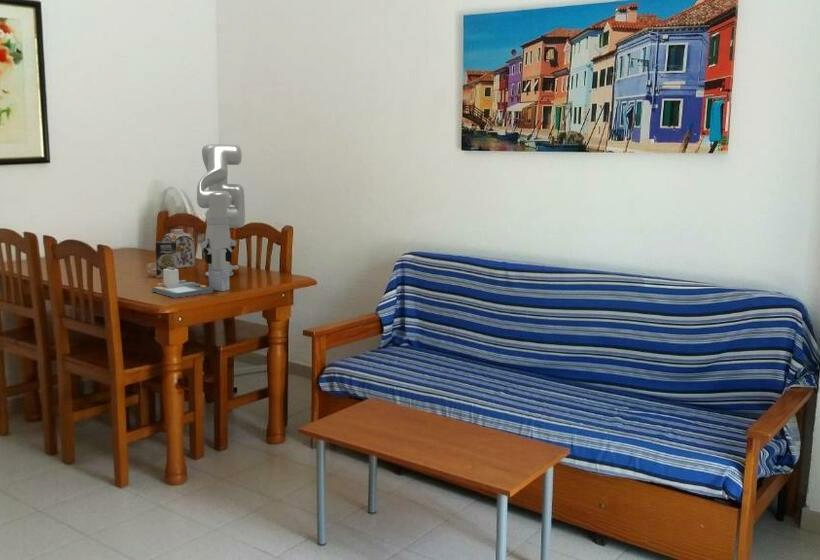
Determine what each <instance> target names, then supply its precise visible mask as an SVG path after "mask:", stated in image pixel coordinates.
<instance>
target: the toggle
mask: <svg viewBox="0 0 820 560" xmlns="http://www.w3.org/2000/svg"><path fill="white" fill-rule="evenodd" d="M179 275H180V274H179V268H177V269H175V268H173V267H167V269H163V276H164V278H163V283H164V286H171V285H178V284H179V281H180V278H179Z"/></svg>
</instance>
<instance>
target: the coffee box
mask: <svg viewBox="0 0 820 560" xmlns="http://www.w3.org/2000/svg"><path fill="white" fill-rule="evenodd" d="M167 267H173V268H175V269H178V268H177V247H176V241H162V240H156V241H155V269H156V271H155V277H156V279H162V278H163V279H164V276H163V269H167Z"/></svg>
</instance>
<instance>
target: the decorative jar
mask: <svg viewBox="0 0 820 560" xmlns="http://www.w3.org/2000/svg"><path fill="white" fill-rule="evenodd" d="M161 241H176V247H177V269H185V267H186V268H194V266H195V267H196V249H195V248H196V247H195V246H196V245H195V242H196V241H195V239H194V237H193V235H192V234H191V233H188V232H184V229H182V228H181V229H179V228H177V229H176V228H175V229H173V232H169V233H166V234H165V235H164V236H163V237H162V239H161Z"/></svg>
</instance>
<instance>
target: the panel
mask: <svg viewBox="0 0 820 560" xmlns="http://www.w3.org/2000/svg"><path fill="white" fill-rule="evenodd" d="M151 291H152V293H154V292H156V293H155V294H158V293H159V294H158V295H161V294H163V295H162V296H164V295H166V296H165V297H168V296H170V297H169V298H171V297H173V298H172V299H179V298H178V297H182V298H187V297H186V296H188V297H194V295H195V296H200V295H199V294H201V295H206V294H211V293H212V294H213V293H214V290H213V288H212V287H209V285H206V284H201V283H197V282H194V281H193V282H191V281H188V282H187V280H186V279H182V280H179V284H178V285H171V286H164V282H159V283H157V286H152V288H151Z"/></svg>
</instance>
